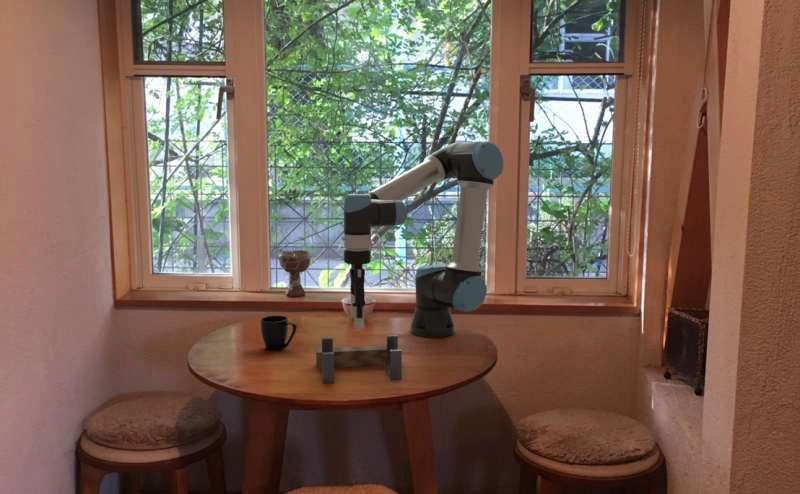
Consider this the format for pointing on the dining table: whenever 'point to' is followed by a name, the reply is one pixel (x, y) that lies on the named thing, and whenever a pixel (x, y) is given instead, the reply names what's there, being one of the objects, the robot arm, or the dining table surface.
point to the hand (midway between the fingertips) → (357, 322)
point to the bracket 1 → (327, 360)
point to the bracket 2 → (394, 358)
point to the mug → (276, 332)
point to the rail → (356, 356)
